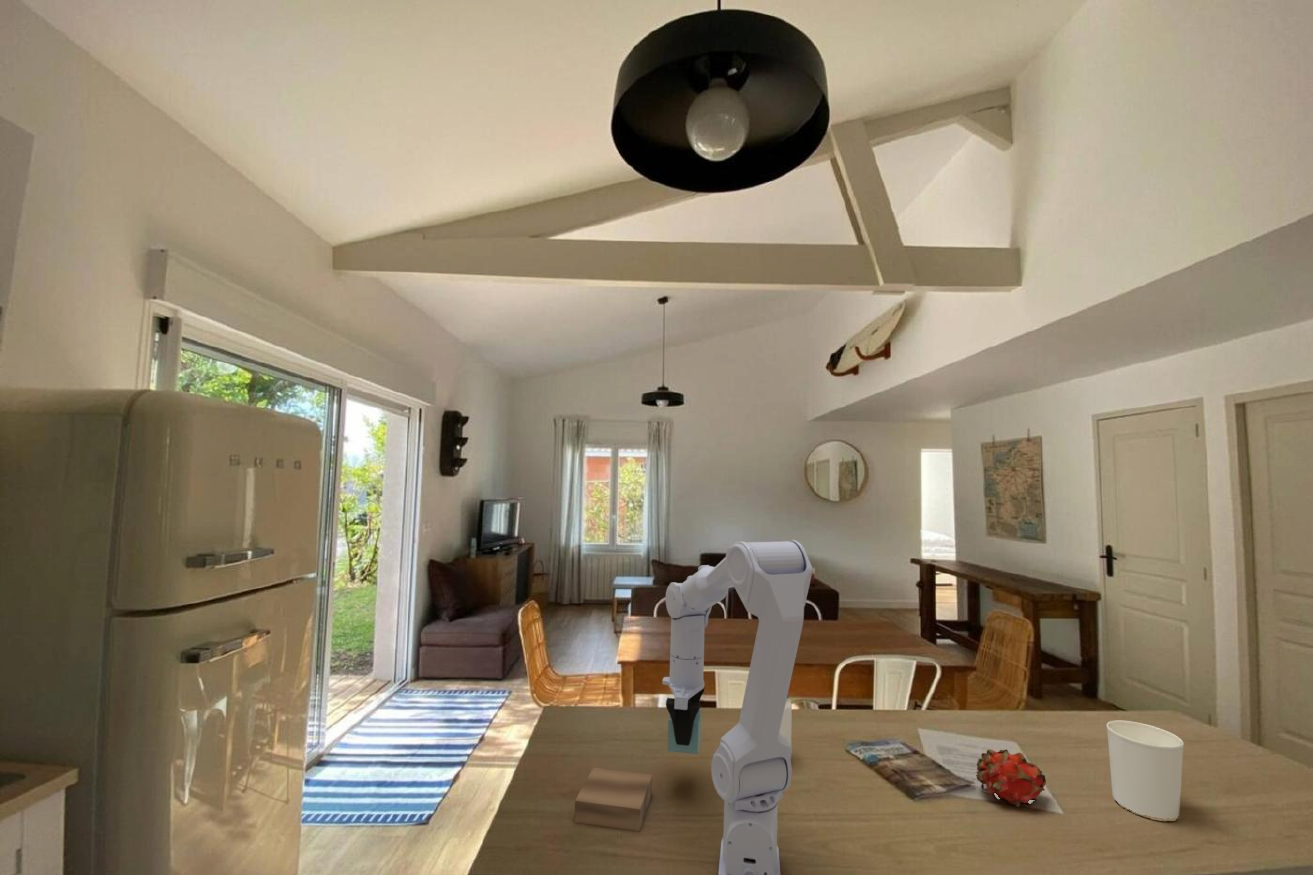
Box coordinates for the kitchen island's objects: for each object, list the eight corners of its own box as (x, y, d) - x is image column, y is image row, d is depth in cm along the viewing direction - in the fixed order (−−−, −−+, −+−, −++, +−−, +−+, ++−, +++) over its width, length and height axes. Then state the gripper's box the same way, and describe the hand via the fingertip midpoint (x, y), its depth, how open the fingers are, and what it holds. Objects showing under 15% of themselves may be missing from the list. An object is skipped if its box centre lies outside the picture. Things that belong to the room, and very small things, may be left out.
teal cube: (697, 754, 95) (698, 723, 95) (667, 751, 96) (668, 720, 96) (700, 740, 100) (701, 710, 100) (671, 737, 101) (672, 708, 101)
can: (791, 771, 104) (792, 702, 104) (754, 766, 105) (756, 698, 106) (790, 753, 110) (791, 689, 111) (755, 749, 111) (757, 685, 112)
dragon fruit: (968, 805, 97) (1037, 816, 98) (998, 798, 91) (1072, 810, 91) (957, 749, 103) (1023, 760, 103) (985, 738, 96) (1055, 750, 97)
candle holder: (1155, 829, 89) (1154, 749, 90) (1092, 794, 99) (1091, 722, 100) (1201, 821, 92) (1199, 743, 93) (1135, 788, 101) (1134, 717, 102)
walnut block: (639, 833, 85) (640, 809, 86) (574, 824, 87) (575, 800, 87) (651, 796, 95) (652, 774, 95) (592, 789, 97) (593, 767, 97)
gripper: (670, 640, 106) (667, 716, 106) (656, 666, 92) (654, 754, 91) (708, 643, 105) (706, 720, 104) (700, 670, 91) (698, 759, 90)
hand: (684, 736), depth 98 cm, fingers closed on teal cube, 5 cm apart
